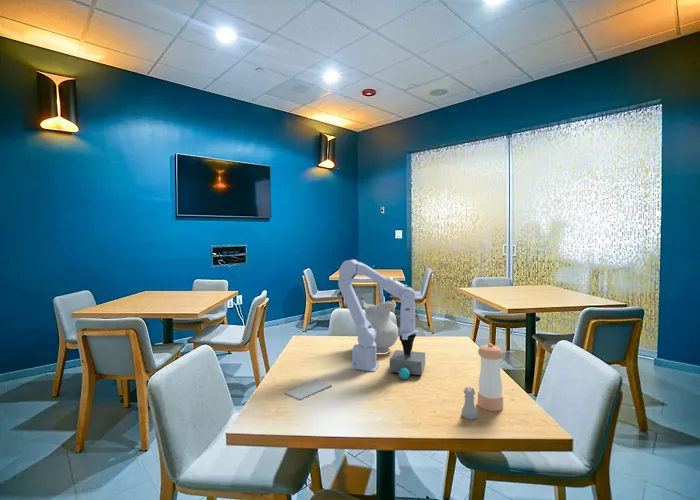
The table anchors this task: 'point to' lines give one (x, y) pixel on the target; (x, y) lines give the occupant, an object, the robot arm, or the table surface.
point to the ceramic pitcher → (381, 323)
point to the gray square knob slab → (408, 362)
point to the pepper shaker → (490, 378)
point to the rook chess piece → (469, 404)
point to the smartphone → (308, 389)
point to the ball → (404, 373)
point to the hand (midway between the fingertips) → (407, 353)
